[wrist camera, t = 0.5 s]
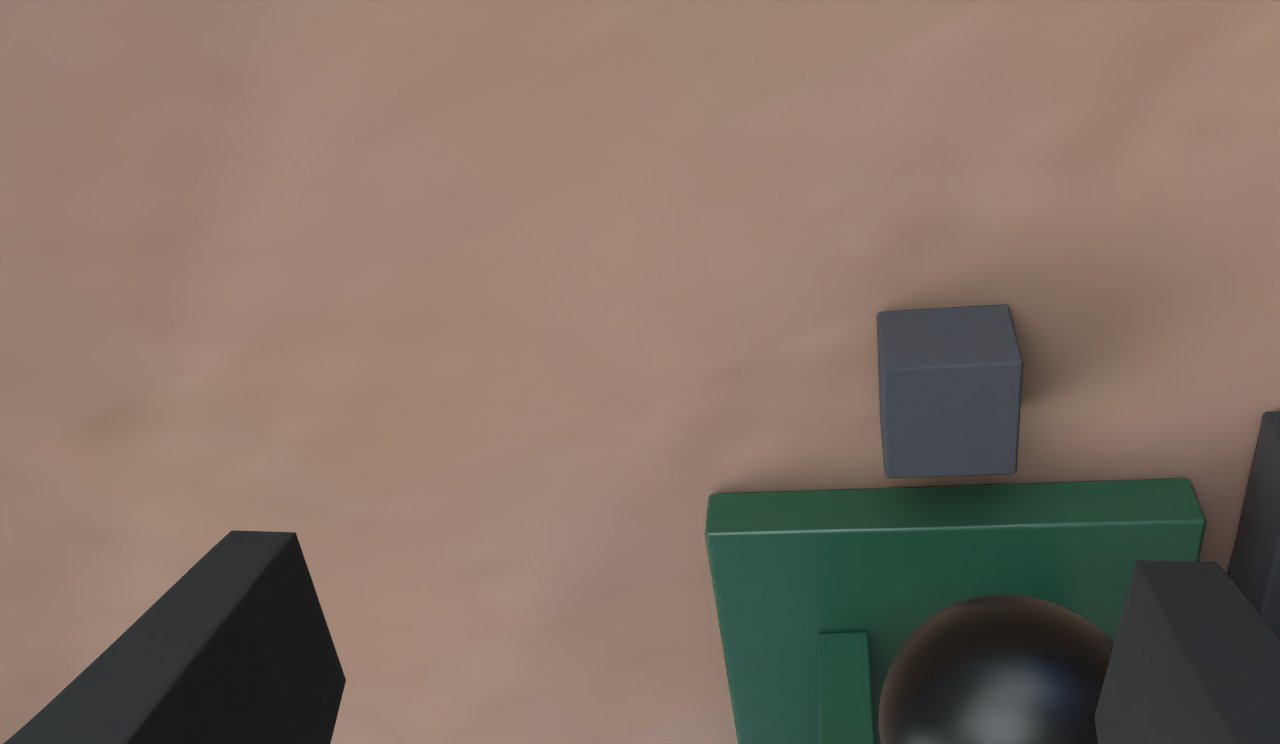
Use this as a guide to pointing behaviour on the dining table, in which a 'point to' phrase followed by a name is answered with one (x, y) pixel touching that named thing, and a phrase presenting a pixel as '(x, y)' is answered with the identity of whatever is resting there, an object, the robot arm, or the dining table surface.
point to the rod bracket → (909, 580)
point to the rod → (996, 676)
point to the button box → (1261, 529)
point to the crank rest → (949, 391)
